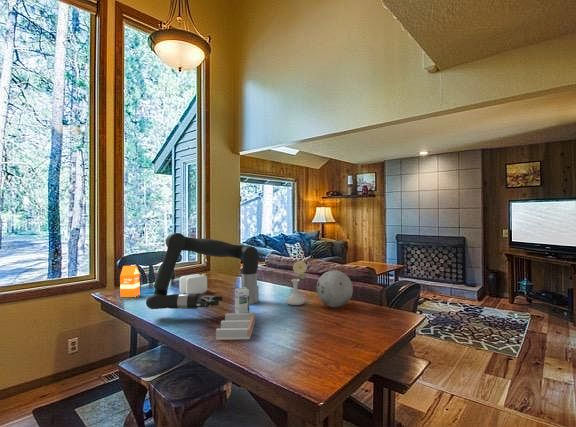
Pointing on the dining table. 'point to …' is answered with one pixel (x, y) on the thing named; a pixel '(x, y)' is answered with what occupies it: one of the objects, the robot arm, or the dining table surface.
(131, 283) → the orange juice
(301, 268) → the flower in vase
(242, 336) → the divided tray
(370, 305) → the dining table surface
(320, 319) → the dining table surface
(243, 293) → the syrup box
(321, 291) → the moon model
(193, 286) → the cable organizer
